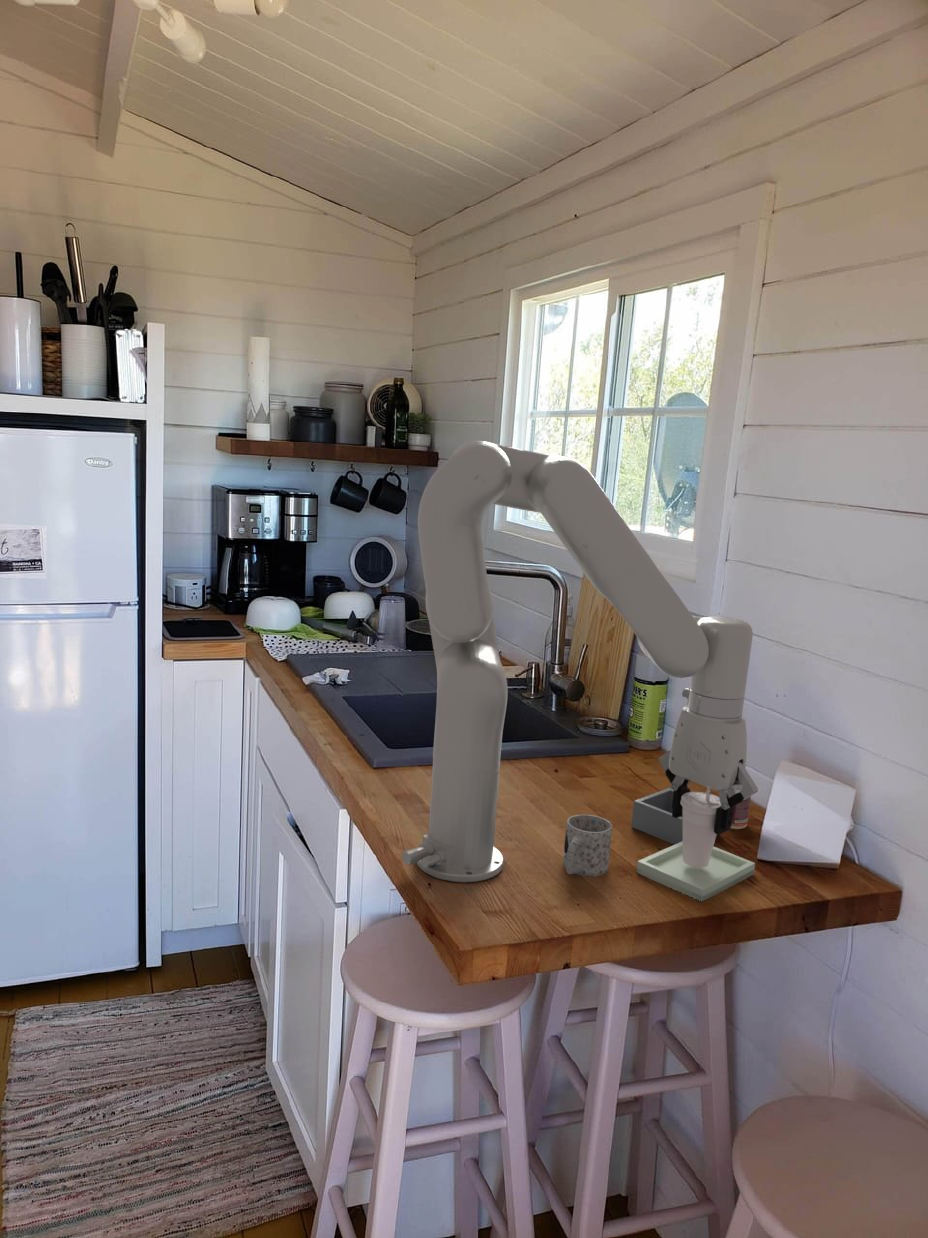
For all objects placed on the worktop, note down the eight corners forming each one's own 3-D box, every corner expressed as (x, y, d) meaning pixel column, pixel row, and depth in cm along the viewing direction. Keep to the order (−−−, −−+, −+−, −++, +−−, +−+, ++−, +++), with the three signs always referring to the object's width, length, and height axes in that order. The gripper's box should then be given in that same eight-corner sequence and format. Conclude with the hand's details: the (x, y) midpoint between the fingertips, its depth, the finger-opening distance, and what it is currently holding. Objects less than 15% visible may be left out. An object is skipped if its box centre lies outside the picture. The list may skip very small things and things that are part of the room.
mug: (573, 852, 145) (577, 811, 144) (615, 864, 142) (619, 822, 141) (545, 876, 137) (549, 832, 135) (588, 890, 134) (592, 845, 132)
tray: (701, 902, 132) (703, 890, 132) (636, 872, 140) (637, 861, 139) (753, 874, 142) (755, 863, 141) (689, 848, 149) (691, 837, 149)
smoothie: (707, 876, 136) (719, 783, 133) (665, 861, 140) (676, 770, 137) (724, 862, 141) (737, 772, 138) (684, 848, 145) (695, 760, 142)
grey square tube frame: (683, 848, 149) (686, 821, 148) (631, 826, 156) (633, 800, 155) (717, 833, 156) (721, 807, 155) (666, 812, 163) (669, 787, 162)
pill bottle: (749, 822, 161) (755, 775, 160) (744, 832, 157) (750, 783, 155) (720, 816, 163) (726, 769, 162) (715, 825, 159) (721, 777, 157)
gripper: (649, 693, 139) (636, 810, 143) (757, 725, 127) (740, 851, 131) (678, 686, 144) (665, 799, 148) (785, 716, 132) (767, 838, 136)
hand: (700, 822), depth 139 cm, fingers closed on smoothie, 6 cm apart
